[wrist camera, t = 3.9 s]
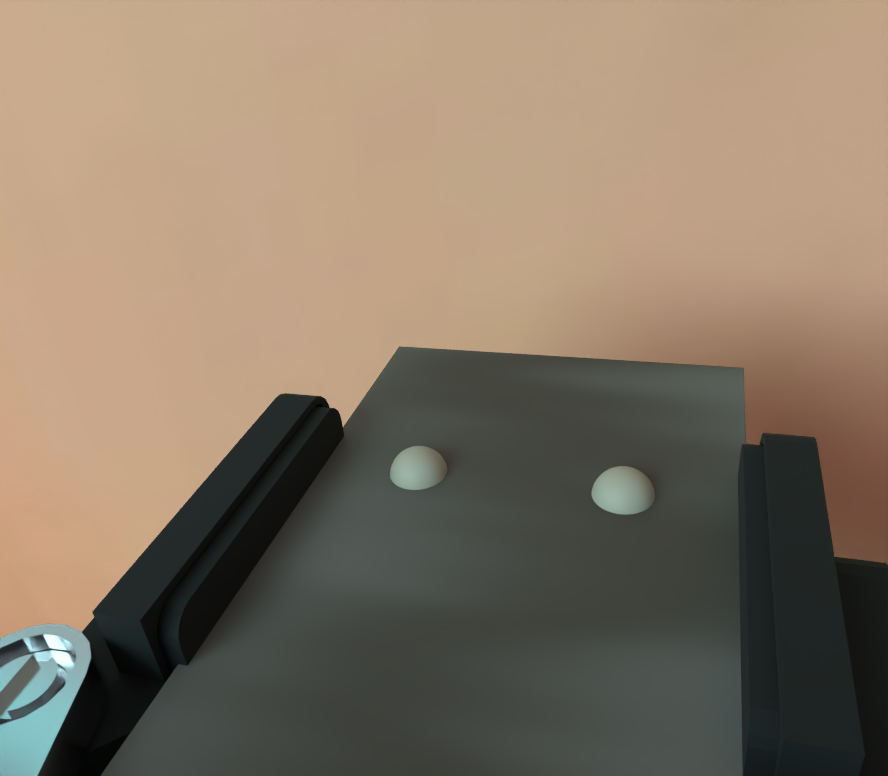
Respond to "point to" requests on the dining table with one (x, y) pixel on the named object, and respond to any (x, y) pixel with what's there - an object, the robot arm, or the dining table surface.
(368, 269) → the dining table surface
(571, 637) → the tile
